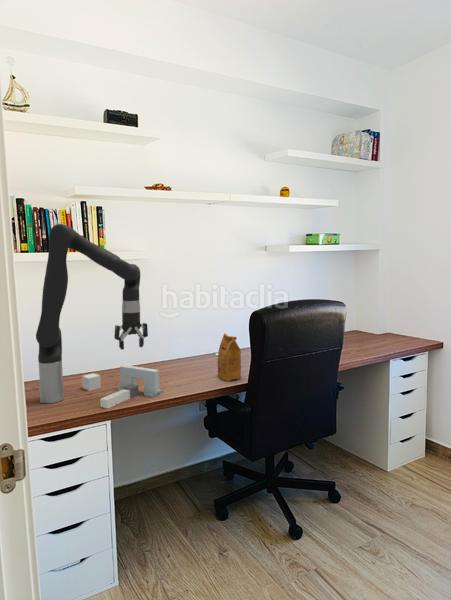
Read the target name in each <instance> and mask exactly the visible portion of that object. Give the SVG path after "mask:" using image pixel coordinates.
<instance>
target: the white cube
mask: <svg viewBox="0 0 451 600" xmlns="http://www.w3.org/2000/svg"><path fill="white" fill-rule="evenodd" d="M81 379H82V382H81V383H82V385H81V386H82V389H84V390H87V391H89V392H90V391H94V390H98V389H101V388H102V387H101V383H102V382H101V375H100V374H97V373H90V374H89V373H88V374H84V375H81Z"/></svg>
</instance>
